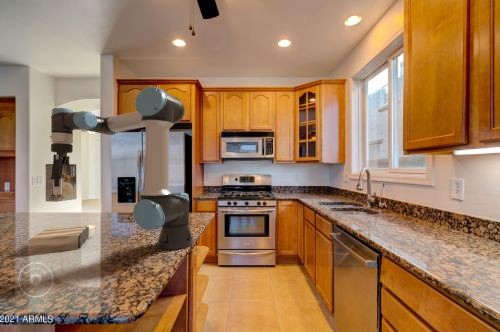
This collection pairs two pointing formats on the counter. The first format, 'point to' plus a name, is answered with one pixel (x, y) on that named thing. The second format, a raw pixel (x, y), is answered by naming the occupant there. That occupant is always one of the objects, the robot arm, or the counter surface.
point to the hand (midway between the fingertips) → (61, 193)
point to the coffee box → (67, 183)
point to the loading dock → (58, 240)
